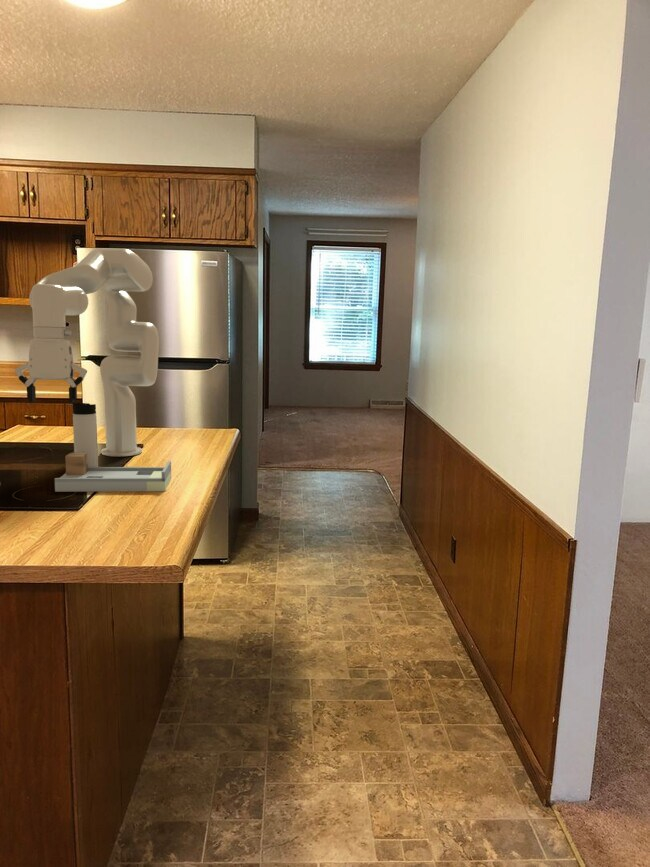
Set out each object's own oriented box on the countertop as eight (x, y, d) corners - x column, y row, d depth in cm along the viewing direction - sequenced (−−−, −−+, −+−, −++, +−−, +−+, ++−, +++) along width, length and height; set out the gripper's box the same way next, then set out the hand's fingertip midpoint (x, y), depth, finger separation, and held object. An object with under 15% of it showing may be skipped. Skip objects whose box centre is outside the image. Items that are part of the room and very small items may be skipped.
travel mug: (69, 471, 180) (66, 401, 177) (87, 467, 186) (84, 399, 183) (84, 474, 178) (82, 403, 174) (103, 470, 183) (100, 401, 180)
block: (70, 471, 171) (70, 452, 170) (88, 471, 171) (87, 452, 170) (66, 475, 166) (65, 456, 165) (83, 475, 167) (83, 456, 166)
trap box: (69, 478, 172) (68, 460, 171) (171, 478, 175) (171, 461, 175) (55, 491, 160) (54, 472, 159) (165, 491, 163) (164, 472, 162)
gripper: (89, 335, 165) (90, 401, 167) (18, 333, 162) (21, 400, 165) (82, 335, 157) (84, 404, 160) (8, 333, 155) (11, 403, 158)
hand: (52, 402), depth 163 cm, fingers open, 9 cm apart
